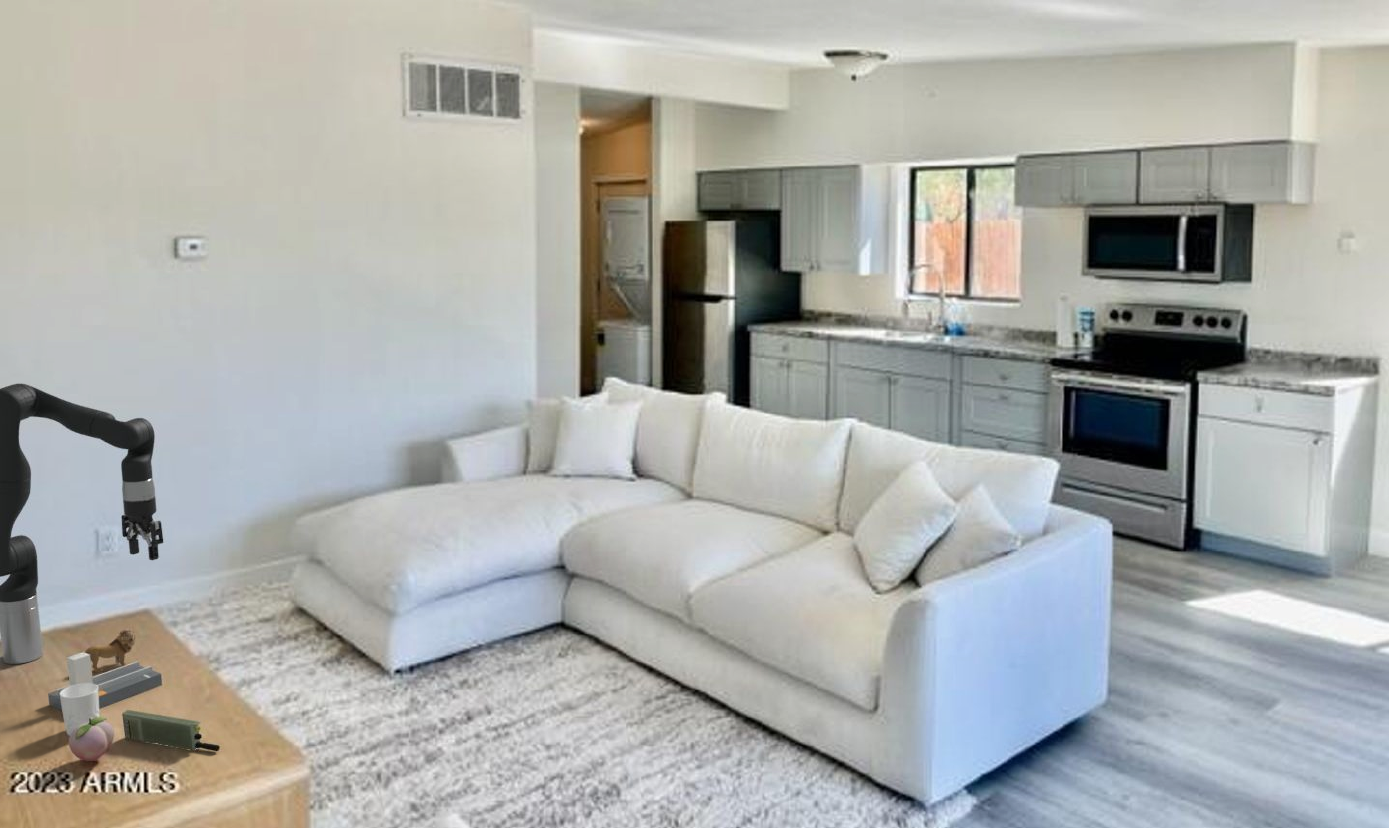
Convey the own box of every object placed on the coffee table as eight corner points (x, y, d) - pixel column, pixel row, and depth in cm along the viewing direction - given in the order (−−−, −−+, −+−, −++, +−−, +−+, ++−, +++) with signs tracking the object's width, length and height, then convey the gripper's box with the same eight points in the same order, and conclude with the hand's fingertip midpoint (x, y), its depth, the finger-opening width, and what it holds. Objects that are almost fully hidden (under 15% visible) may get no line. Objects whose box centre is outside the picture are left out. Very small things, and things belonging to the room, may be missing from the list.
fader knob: (69, 691, 277) (65, 657, 275) (85, 686, 280) (82, 651, 278) (78, 695, 275) (75, 660, 273) (94, 689, 278) (91, 655, 276)
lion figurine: (132, 656, 307) (130, 625, 305) (141, 662, 303) (138, 630, 301) (74, 673, 296) (71, 640, 294) (82, 678, 292) (79, 645, 291)
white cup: (109, 727, 266) (105, 687, 264) (79, 741, 259) (75, 700, 257) (86, 720, 269) (82, 680, 267) (56, 734, 262) (51, 693, 260)
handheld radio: (133, 734, 263) (224, 750, 256) (122, 741, 260) (214, 757, 253) (130, 708, 261) (221, 722, 254) (119, 714, 258) (211, 729, 251)
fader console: (49, 705, 277) (47, 687, 276) (134, 674, 295) (133, 657, 294) (76, 717, 271) (74, 699, 270) (162, 684, 289) (160, 668, 288)
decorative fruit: (86, 750, 254) (81, 708, 253) (122, 751, 254) (118, 709, 252) (61, 771, 245) (57, 728, 243) (99, 772, 245) (95, 728, 243)
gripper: (109, 495, 293) (114, 555, 296) (141, 503, 285) (146, 565, 288) (136, 489, 299) (141, 548, 302) (169, 497, 291) (174, 557, 294)
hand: (144, 556), depth 295 cm, fingers open, 8 cm apart
